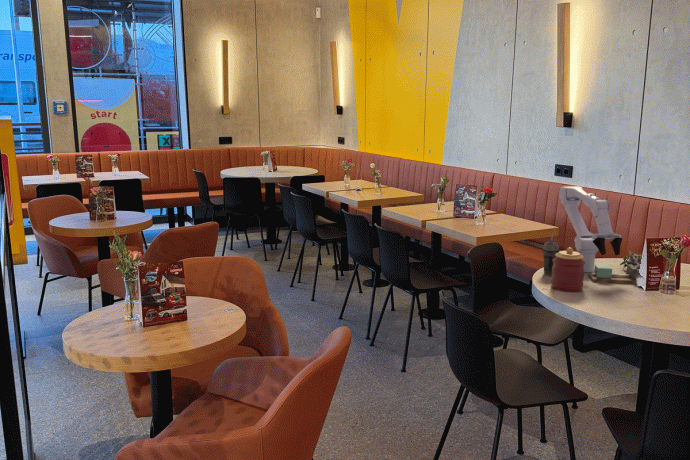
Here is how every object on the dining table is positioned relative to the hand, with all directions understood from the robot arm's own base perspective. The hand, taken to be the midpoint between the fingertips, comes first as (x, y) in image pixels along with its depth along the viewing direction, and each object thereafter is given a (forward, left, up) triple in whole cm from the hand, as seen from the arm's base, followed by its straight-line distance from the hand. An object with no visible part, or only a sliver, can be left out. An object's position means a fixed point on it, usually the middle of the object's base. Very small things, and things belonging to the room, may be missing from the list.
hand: (610, 254), depth 262 cm
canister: (-20, -14, -12) cm, 27 cm away
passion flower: (+15, +19, -12) cm, 27 cm away
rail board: (+2, +2, -12) cm, 12 cm away
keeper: (-2, +2, -10) cm, 11 cm away
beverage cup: (-24, +7, -12) cm, 28 cm away
